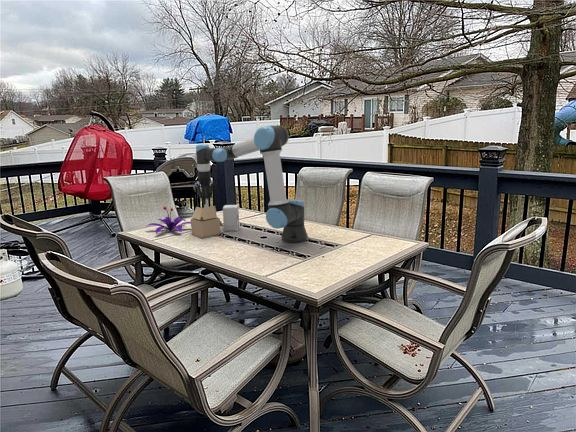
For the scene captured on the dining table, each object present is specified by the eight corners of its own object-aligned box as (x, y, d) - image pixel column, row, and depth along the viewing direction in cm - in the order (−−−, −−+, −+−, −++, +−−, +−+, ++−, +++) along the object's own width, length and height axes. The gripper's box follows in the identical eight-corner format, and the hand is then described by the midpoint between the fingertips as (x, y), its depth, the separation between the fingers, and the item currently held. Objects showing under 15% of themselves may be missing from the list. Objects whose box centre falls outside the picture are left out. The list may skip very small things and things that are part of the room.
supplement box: (237, 231, 263) (236, 207, 260) (223, 231, 263) (222, 207, 260) (239, 227, 272) (238, 204, 268) (226, 227, 272) (224, 204, 269)
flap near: (217, 217, 252) (215, 205, 252) (203, 219, 247) (201, 208, 246) (216, 217, 253) (214, 205, 252) (203, 219, 247) (201, 208, 247)
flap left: (200, 220, 247) (204, 209, 248) (199, 219, 247) (203, 208, 248) (192, 217, 254) (197, 206, 255) (191, 217, 254) (196, 206, 254)
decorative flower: (184, 222, 288) (182, 200, 284) (201, 232, 262) (200, 208, 259) (142, 228, 273) (140, 206, 269) (156, 239, 247) (154, 215, 244)
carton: (226, 233, 259) (225, 217, 256) (202, 238, 248) (201, 222, 246) (211, 228, 271) (210, 212, 269) (188, 233, 260) (187, 217, 258)
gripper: (210, 169, 257) (212, 206, 263) (191, 171, 249) (193, 210, 255) (216, 170, 252) (219, 208, 257) (197, 172, 244) (200, 212, 249)
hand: (206, 209), depth 256 cm, fingers closed
